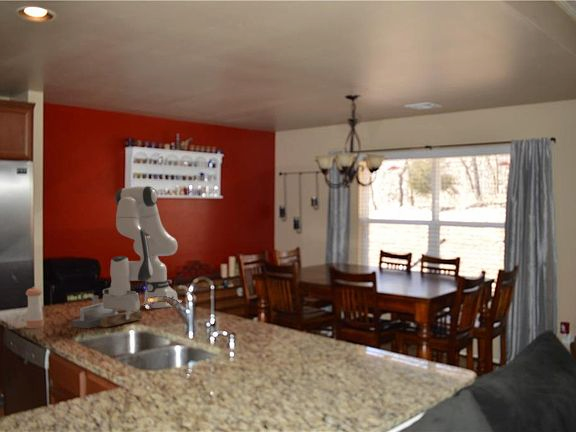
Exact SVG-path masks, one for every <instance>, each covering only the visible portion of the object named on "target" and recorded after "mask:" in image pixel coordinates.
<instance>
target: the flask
mask: <svg viewBox="0 0 576 432" xmlns="http://www.w3.org/2000/svg"><path fill="white" fill-rule="evenodd" d="M99 297H100V296H99V295H92V296H91V298H92V302H91V305H94V304H98V303H100V302H99Z"/></svg>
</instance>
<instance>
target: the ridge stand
mask: <svg viewBox="0 0 576 432" xmlns="http://www.w3.org/2000/svg"><path fill="white" fill-rule="evenodd" d="M117 313H118V314H120V313H121V312H118V311H117ZM111 315H114V313H113V312H112V309H105V308H104V307H103V301H102V302H99V303H98V304H94V305H92V304H91V305H87V306H84V307H80V308H79V318H78V319H74V320H72V328H77V327H79V329H86V328H88V329H89V328H90V329H93V328H95V327H99V326H101V318H102V317H106V316H111ZM92 327H93V328H92ZM88 329H87V330H88Z"/></svg>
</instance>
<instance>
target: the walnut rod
mask: <svg viewBox="0 0 576 432" xmlns="http://www.w3.org/2000/svg"><path fill="white" fill-rule="evenodd" d="M119 313H120V314H116V315H111V316H106V317H102V318H101V325H100V326H101V327H102V328H109V327H113V326H116V325H117V326H118V325H122V324H126V323H129V322H134V321H139V320H143V312H142V310H140V309H139V310H137V311H131V313H130V315H129V319H124V316H126V311H125V312H119Z"/></svg>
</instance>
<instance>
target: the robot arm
mask: <svg viewBox="0 0 576 432" xmlns="http://www.w3.org/2000/svg"><path fill="white" fill-rule="evenodd" d="M114 201H115V204H116V205H117V207H116V208H117V209H116V215H115V217H116V218H115V221H116V222H115V224H116V225H115V226H116V229H117V231H118V233H120V235H122V236H124V237H127V238H129V239H131V240H133V250H134V253H136V254H137V255H138V256H139V258H140V260H131V261H130V260H129V258H128V257H127V256H126V255H117V256H114V257H112V258H111V260H110V269H109V270H110V274H109V275H110V277H111V283H110V287H108V288H104V289H103V290H102V294H103V295H102V302H103V307H104V308H105V309H112V312H113V313H114V315H116V314H118V313H117V312H118V311H125V312H126V316H124V319H129V315H130V313H131V311H137V310H140V308H141V303H140V298H139V297H140V296H139V293H137V291H135V290H131V282H130V281H138V282H145V288H146V290H145V292H144V302H143V306H144V304H145V302H146V300H147V299H148V298H151V297H154V296H167V297H170V298H173V299H175V300H177V301H178V302H179V304H180V303H182V302H183V299H182V300H181V299H179V298H178V293H177V291H176V290H174V289H173V288H172V287H171V286H170V284H172V282H173V281H172V279H167V278H168V276H167V273H168V271H167V270H168V269H167V266H166V264H165V263H163V262H162V261H161V260H160V259H159V257H165V256H166V257H168V256H173V255H174V254H176V253H177V251H178V241H177V240H176V238H175V237H173V236H172V235H170V234H169V233H168V232H167V230H166V229H165V227H164V226H163V224H162V221H161V218H160V217H161V216H160V214H159V209H158V206H157V202H158V191H157V190H156V189H155V188H154V187H153V186H149V185H146V186H133V187H123V188H119V189H118V190H117V191H116V193H115V195H114ZM172 307H173V306H171V305H170V304H169V303H167V302H158V303H154V304H153V307H152V308H151V309H162V308H172Z"/></svg>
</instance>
